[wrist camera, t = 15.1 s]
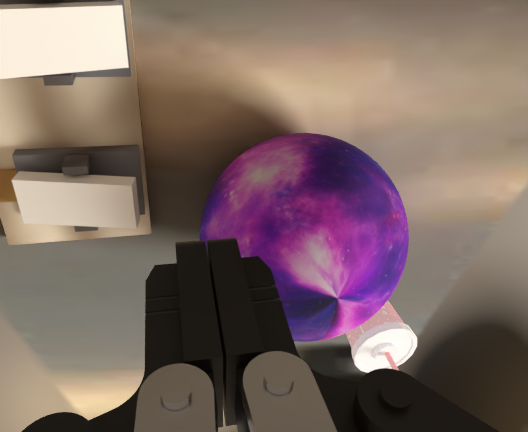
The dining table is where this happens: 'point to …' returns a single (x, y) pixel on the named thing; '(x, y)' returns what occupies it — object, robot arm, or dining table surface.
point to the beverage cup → (382, 341)
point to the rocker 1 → (61, 38)
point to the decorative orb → (314, 228)
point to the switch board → (71, 136)
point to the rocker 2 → (77, 199)
